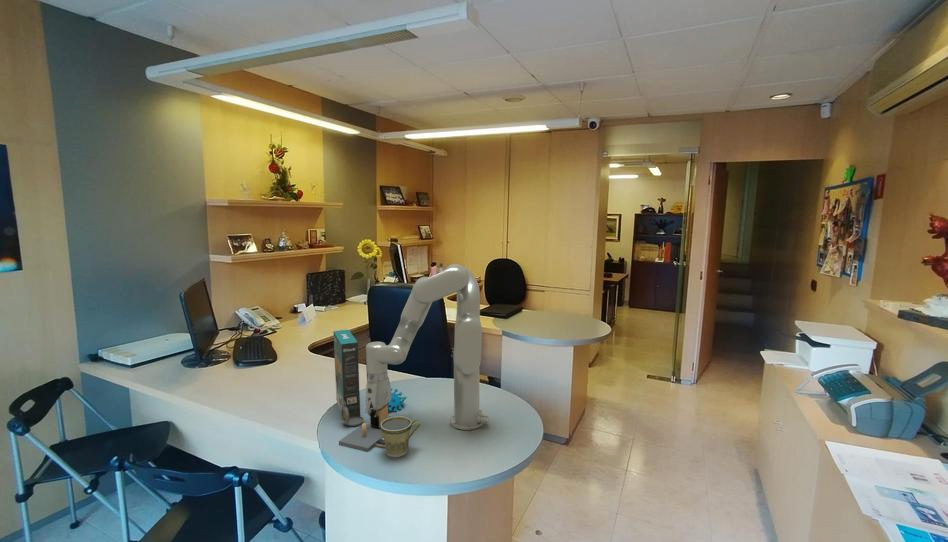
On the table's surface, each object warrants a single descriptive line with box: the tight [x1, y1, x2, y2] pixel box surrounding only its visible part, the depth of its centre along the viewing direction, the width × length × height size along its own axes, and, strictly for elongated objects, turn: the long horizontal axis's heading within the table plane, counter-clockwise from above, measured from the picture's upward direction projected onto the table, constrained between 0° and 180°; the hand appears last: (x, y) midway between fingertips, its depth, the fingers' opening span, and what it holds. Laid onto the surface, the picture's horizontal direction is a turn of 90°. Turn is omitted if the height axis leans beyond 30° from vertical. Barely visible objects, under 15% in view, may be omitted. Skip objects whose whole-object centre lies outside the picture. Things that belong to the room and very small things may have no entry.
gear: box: [388, 388, 408, 413], centre depth 172 cm, size 11×6×10 cm
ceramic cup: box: [380, 415, 421, 459], centre depth 138 cm, size 13×10×10 cm
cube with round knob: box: [369, 405, 389, 429], centre depth 156 cm, size 5×5×8 cm
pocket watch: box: [340, 400, 365, 427], centre depth 157 cm, size 8×8×10 cm
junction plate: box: [338, 422, 386, 452], centre depth 145 cm, size 16×12×6 cm
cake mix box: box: [333, 329, 361, 418], centre depth 170 cm, size 22×6×30 cm, turn 26°
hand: (379, 422), depth 157 cm, fingers closed on cube with round knob, 4 cm apart
